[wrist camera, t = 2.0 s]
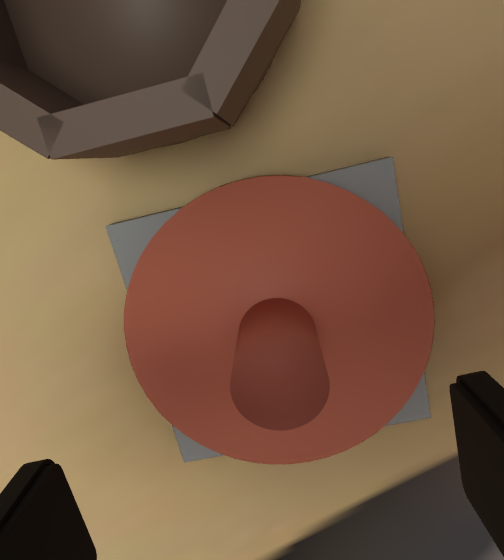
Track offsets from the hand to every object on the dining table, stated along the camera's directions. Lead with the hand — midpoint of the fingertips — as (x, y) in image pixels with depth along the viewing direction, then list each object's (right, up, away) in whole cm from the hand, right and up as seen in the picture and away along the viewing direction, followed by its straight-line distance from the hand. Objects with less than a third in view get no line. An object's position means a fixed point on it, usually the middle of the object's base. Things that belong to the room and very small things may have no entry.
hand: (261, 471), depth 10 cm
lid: (+1, +3, +8) cm, 8 cm away
